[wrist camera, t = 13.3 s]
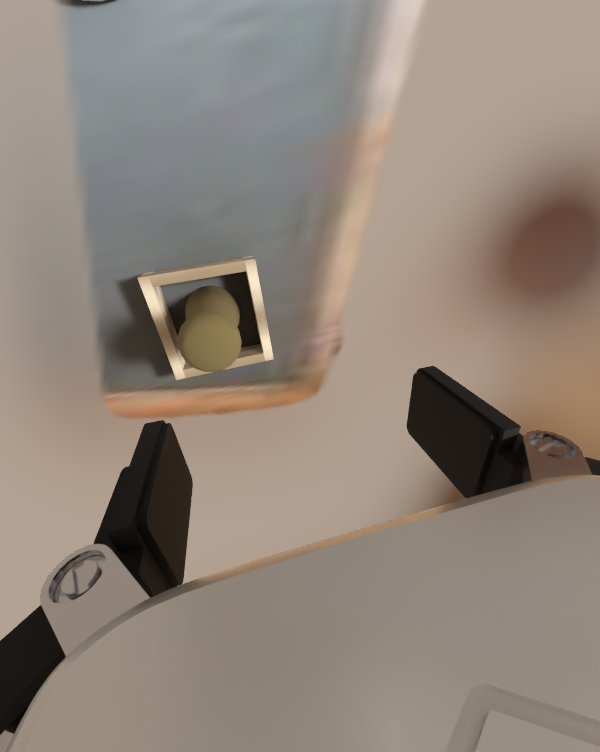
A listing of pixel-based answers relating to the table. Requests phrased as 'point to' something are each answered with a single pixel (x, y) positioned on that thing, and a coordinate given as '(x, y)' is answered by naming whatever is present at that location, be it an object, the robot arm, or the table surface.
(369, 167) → the table surface
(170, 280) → the beige square frame
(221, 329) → the cork
